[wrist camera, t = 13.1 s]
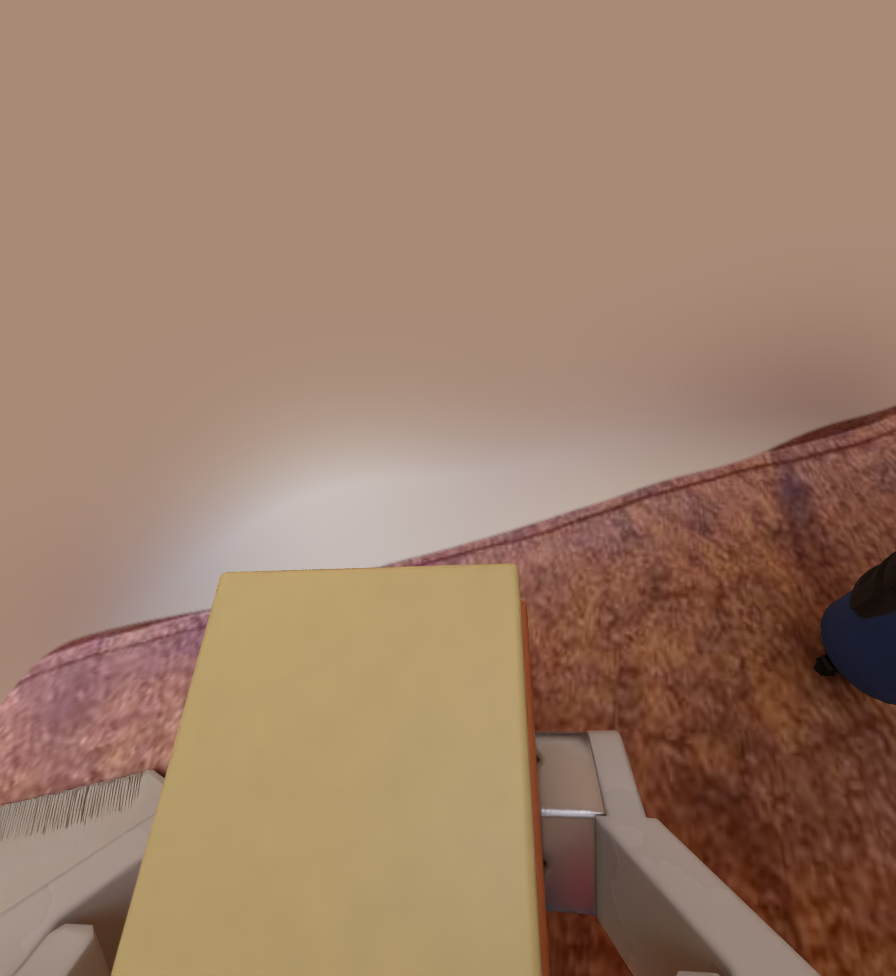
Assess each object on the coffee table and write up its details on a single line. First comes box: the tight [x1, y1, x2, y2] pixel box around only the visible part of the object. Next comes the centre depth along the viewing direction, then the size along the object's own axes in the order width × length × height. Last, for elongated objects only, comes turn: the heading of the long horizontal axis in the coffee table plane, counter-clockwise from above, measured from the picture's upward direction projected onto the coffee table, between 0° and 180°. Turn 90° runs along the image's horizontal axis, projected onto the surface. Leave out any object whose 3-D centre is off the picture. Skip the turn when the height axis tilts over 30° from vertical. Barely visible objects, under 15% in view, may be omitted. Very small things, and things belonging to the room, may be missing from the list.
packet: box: [111, 563, 550, 976], centre depth 9 cm, size 5×4×10 cm
